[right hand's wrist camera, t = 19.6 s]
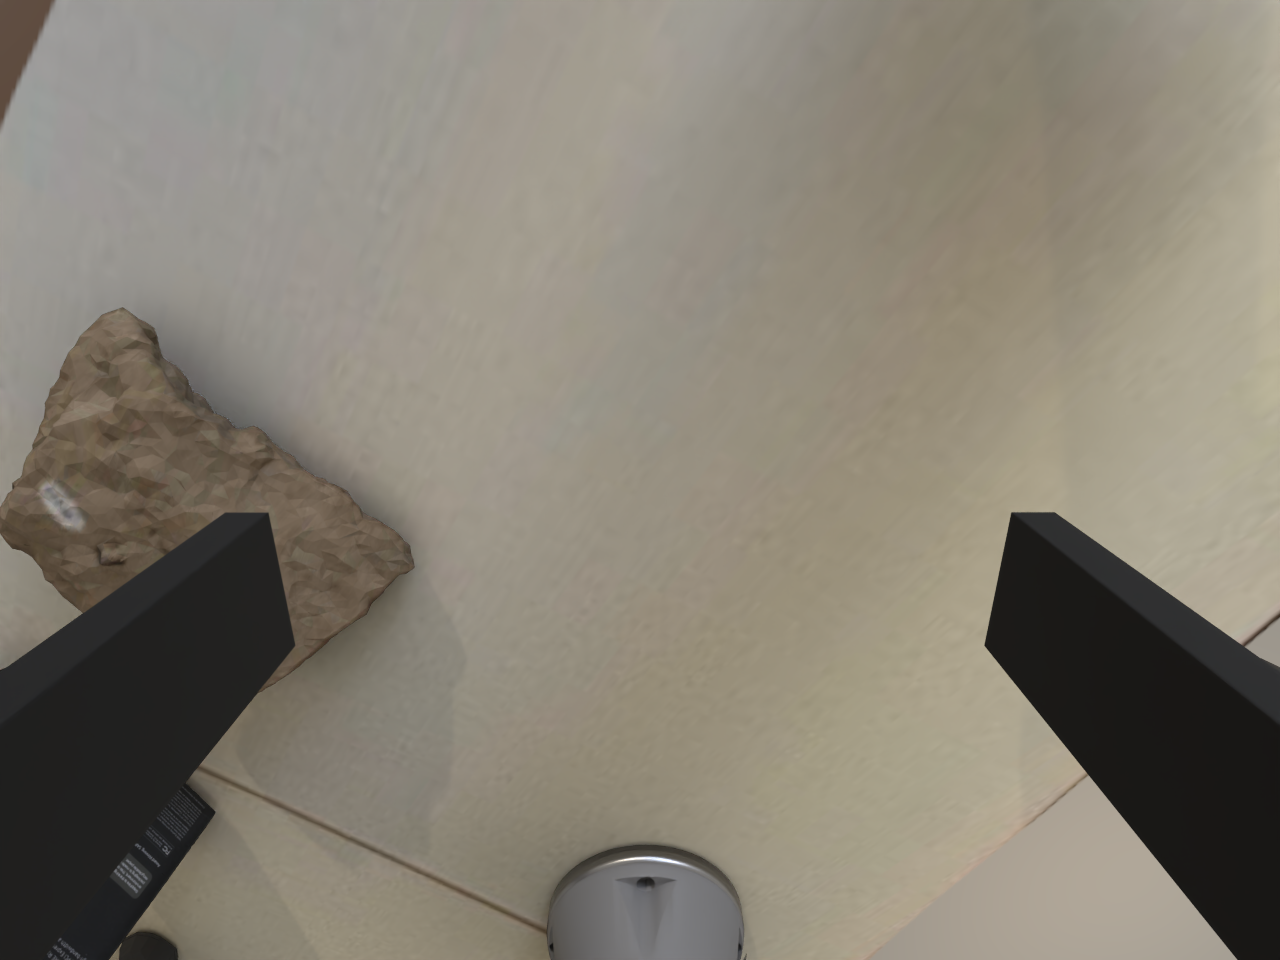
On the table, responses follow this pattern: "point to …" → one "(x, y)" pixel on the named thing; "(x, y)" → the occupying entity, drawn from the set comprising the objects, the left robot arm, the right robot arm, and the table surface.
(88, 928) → the graphics card box
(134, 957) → the robot
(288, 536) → the stone
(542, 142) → the table surface
